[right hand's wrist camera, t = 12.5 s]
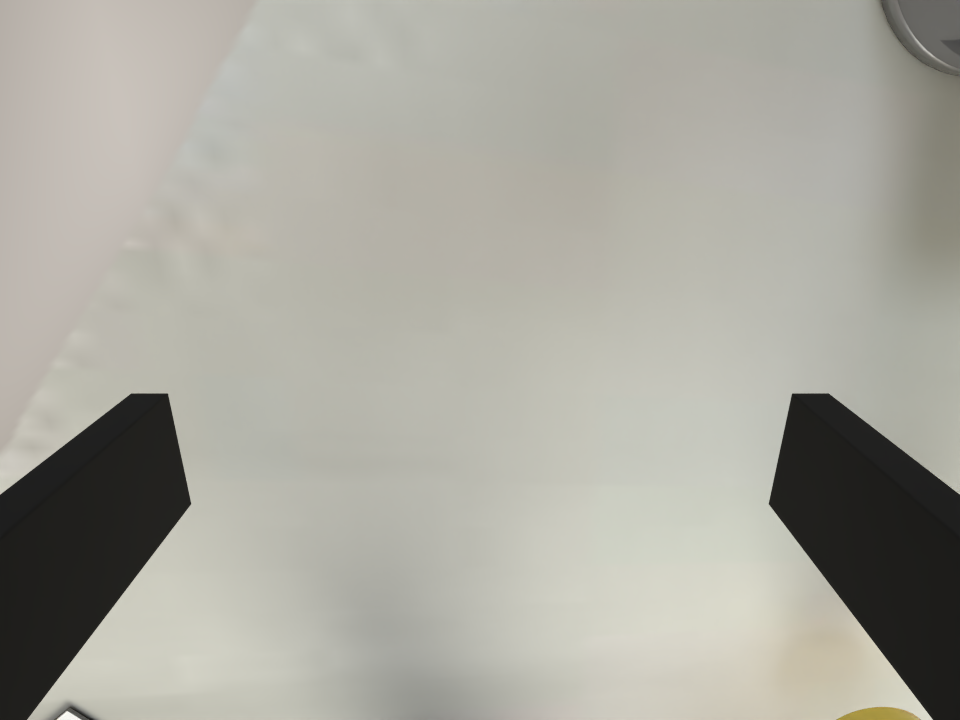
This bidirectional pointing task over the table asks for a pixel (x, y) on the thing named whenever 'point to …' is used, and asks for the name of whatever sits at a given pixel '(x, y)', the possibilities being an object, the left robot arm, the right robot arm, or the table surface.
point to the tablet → (71, 715)
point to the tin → (880, 714)
